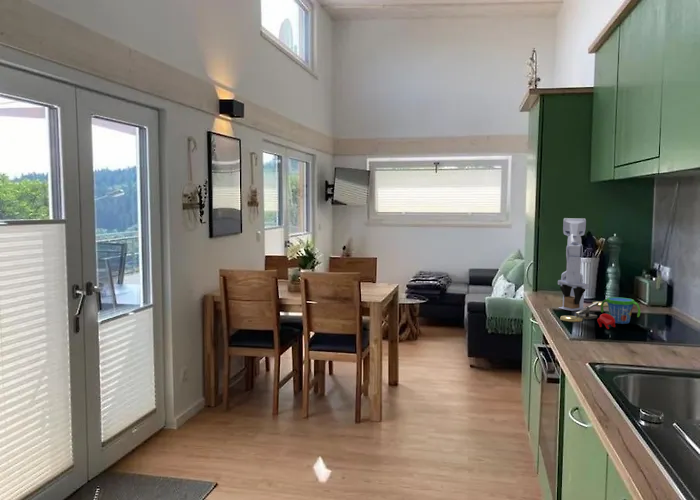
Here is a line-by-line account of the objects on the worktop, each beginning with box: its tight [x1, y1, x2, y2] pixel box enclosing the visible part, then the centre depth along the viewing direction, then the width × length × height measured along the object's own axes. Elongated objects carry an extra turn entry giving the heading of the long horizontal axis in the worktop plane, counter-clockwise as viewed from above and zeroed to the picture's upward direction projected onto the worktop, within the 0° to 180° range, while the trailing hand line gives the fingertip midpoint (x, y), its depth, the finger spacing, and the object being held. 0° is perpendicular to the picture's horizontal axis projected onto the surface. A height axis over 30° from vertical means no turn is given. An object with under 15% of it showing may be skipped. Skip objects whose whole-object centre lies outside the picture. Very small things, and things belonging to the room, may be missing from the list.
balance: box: [559, 301, 608, 323], centre depth 248 cm, size 30×9×7 cm, turn 120°
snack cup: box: [600, 296, 641, 325], centre depth 239 cm, size 16×10×10 cm
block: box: [564, 296, 580, 309], centre depth 243 cm, size 4×4×4 cm
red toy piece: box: [596, 312, 616, 330], centre depth 229 cm, size 8×6×6 cm
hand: (572, 303), depth 243 cm, fingers closed on block, 4 cm apart
